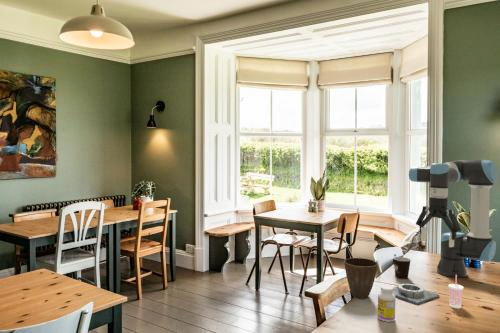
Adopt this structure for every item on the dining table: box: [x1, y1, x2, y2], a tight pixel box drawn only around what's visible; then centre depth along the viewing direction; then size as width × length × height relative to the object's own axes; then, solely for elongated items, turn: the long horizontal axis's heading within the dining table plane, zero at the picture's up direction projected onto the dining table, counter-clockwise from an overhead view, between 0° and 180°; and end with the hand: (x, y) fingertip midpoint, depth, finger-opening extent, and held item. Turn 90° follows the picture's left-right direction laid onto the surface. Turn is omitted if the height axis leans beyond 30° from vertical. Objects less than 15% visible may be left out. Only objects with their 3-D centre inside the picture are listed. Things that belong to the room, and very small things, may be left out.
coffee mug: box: [392, 256, 411, 280], centre depth 213 cm, size 12×9×10 cm
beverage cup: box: [447, 275, 464, 309], centre depth 171 cm, size 6×6×14 cm
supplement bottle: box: [377, 285, 396, 323], centre depth 156 cm, size 7×7×13 cm
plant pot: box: [343, 257, 378, 299], centre depth 181 cm, size 15×15×16 cm
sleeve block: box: [393, 283, 440, 306], centre depth 184 cm, size 18×18×4 cm
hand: (436, 243), depth 176 cm, fingers open, 13 cm apart
